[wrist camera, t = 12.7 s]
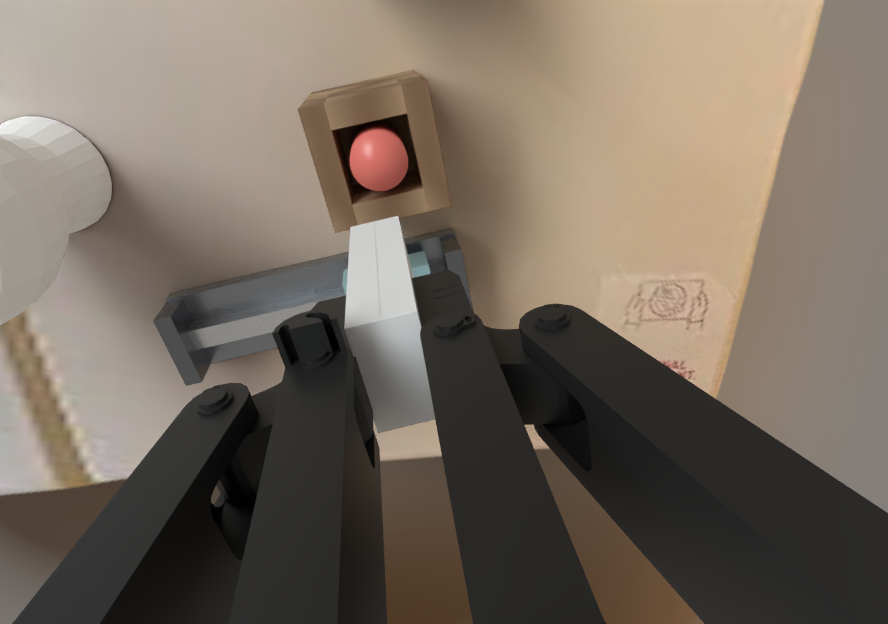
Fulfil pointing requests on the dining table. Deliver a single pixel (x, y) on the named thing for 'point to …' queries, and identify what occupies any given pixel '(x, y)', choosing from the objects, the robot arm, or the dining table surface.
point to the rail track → (280, 290)
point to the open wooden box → (331, 134)
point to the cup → (43, 203)
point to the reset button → (378, 156)
